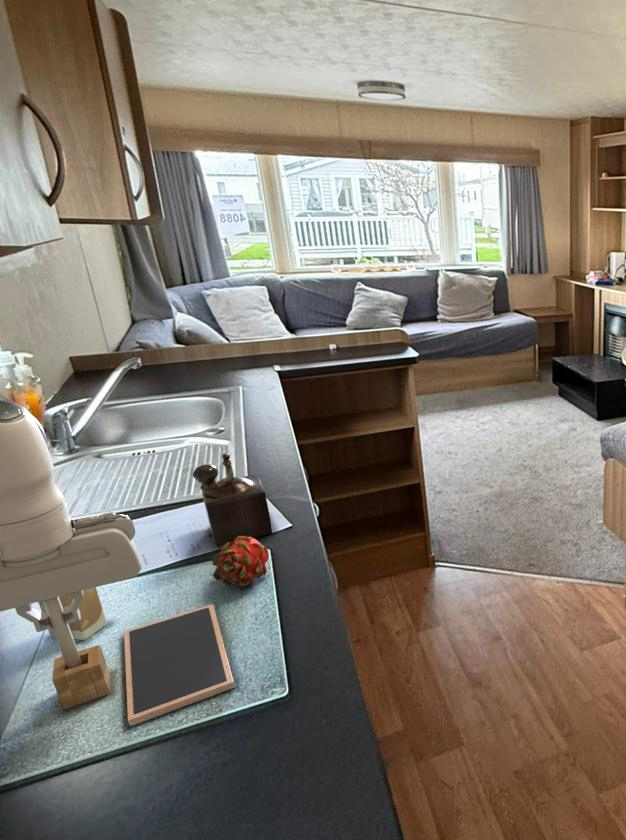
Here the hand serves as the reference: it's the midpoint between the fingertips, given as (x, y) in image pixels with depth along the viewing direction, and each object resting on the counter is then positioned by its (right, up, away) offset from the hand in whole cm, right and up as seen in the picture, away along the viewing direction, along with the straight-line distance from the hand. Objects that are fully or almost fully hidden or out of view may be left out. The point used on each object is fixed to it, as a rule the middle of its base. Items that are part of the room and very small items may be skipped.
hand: (59, 624), depth 84 cm
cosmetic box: (-10, -6, +16) cm, 20 cm away
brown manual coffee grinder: (0, +5, +44) cm, 44 cm away
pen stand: (0, -10, +4) cm, 11 cm away
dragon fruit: (+8, 0, +30) cm, 31 cm away
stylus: (0, -7, +3) cm, 8 cm away
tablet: (+9, -8, +10) cm, 16 cm away
